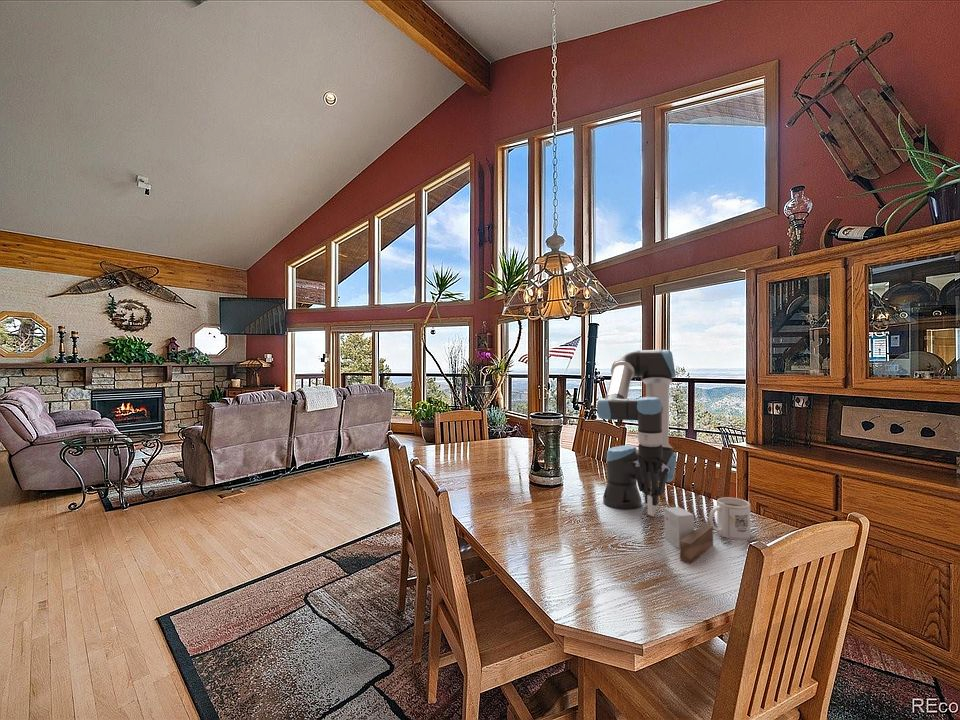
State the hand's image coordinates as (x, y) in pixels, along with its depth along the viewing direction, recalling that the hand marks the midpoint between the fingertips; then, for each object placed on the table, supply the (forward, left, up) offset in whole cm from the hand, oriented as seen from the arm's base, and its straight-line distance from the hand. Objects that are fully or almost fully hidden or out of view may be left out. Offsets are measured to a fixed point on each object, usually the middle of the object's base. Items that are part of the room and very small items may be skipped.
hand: (651, 513), depth 150 cm
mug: (+17, +21, -9) cm, 29 cm away
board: (+15, -1, -8) cm, 17 cm away
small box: (+8, +3, -9) cm, 12 cm away
